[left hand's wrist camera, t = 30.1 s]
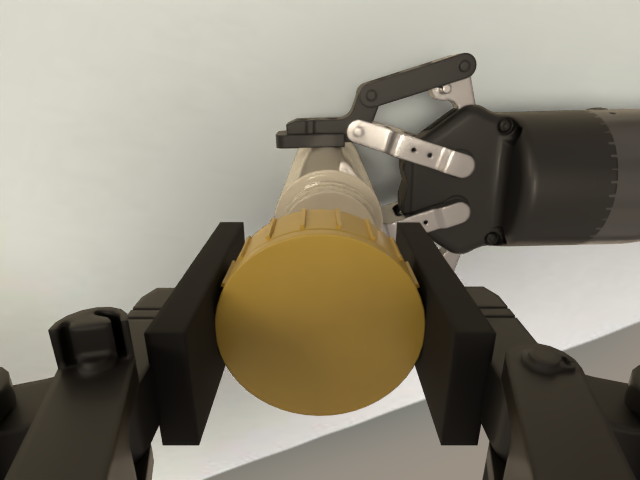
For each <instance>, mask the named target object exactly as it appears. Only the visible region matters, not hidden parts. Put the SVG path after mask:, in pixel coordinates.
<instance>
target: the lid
mask: <svg viewBox="0 0 640 480" xmlns="http://www.w3.org/2000/svg"><path fill="white" fill-rule="evenodd" d="M221 287H224V288H223V290H222V292H221V294H220V297H219V301H218V304H217V307H216V314H215V329H216V338H217V345H218V348H219V351H220V354H221V356H222V359H223V361H224V363H225V365H226V366H227V368H228V369H229V371H230V372H231V374H232V375H233V376H234V378H235V379H236V380H237V381H238V382H239V383H240V384H241V385H242V386H243V387H244V388H245V389H246V390H247V391H248V392H250V393H251V394H253V395H254V396H256V397H257V398H258V399H260V400H262V401H264V402H266V403H267V404H269V405H272V406H274V407H277V408H279V409H282V410H285V411H289V412H292V413H297V414H303V415H314V416H326V415H337V414H344V413H348V412H352V411H356V410H358V409H361V408H364V407H366V406H369V405H371V404H373V403H375V402H377V401H379V400H380V399H382V398H383V397H385V396H386V395H388V394H389V393H390V392H392V391H393V390H394V389H395V388H396V387H398V386H399V385H400V383H401V382H402V381H403V380H404V379H405V378H406V377H407V376H408V374H409V373H410V371H411V370H412V369H413V367H414V365H415V363H416V361H417V359H418V357H419V355H420V352H421V349H422V346H423V341H424V332H425V311H424V307H423V303H422V299H421V296H420V294H419V292H418V290H417V288H419V287H420V286H419V283H418V281H417V279H416V277H415V275H414V273H413V271H412V269H411V267H410V265H409V263H408V261H406V262H405V261H404V259H403V257H402V255H401V253H400V251H399V249H398V247H397V245H396V242H395V240H394V238H393V237H392V236H391V237H390V238H389V237H388V236H387V235H386V234H384V233H383V232H382V231H381V230H380V229H379V228H377V227H376V226H374V225H373V224H371V222H370V219H368V218H366V219H365V220H364V219H362V218H360V217H357V216H355V215H352V214H349V213H345V212H341V211H339V208H335V210H325V209H316V210H306V208H302V211H299V212H295V213H292V214H289V215H285V216H283V217H281V218H279V219H276V218H275V217H274V218H272V219H271V222H270V223H269V224H268V225H266V226H264V227H263V228H262V229H260V230H259V231H258V232H257V233H256V234H254V235H253V237H251V236H249V237H248V238H247V239H246V242H245V244H244V246H243V248H242V250H241V252H240V254H239V256H238V258H237V260H236V261H234V260H233V261H232V263H231V265H230V267H229V269H228V271H227V273H226V276H225V278H224V280H223V282H222V284H221Z"/></svg>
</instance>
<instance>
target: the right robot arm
mask: <svg viewBox="0 0 640 480" xmlns="http://www.w3.org/2000/svg"><path fill="white" fill-rule="evenodd" d="M475 70H476V60H475V58H474V57H473V56H472V55H471V54H469V53H462V54H456V55H451V56H447V57H444V58H441V59H438V60H435V61H431V62H428V63H425V64H422V65H419V66H416V67H413V68H410V69H406V70H403V71H400V72H397V73H394V74H391V75H388V76H384V77H381V78H378V79H375V80H372V81H369V82H366V83H363V84H361V85H360V86H359V87H358V89H357V92H356V97H355V99H354V102H353V105H352V108H351V110H350V111H349V113H348V114H346V115H345V116H343V117H330V118H297V119H295V120H292V121H290V122H288V123H287V125H286V128H287V131H279V132H278V133H277V134H276V145H277V148H321V147H345V142H354V143H357V144H360V145H363V146H366V147H369V148H373V149H376V150H379V151H382V152H385V153H387V154H389V155H392V156H394V157H398V158H399V168H400V173H401V177H402V181H401V184H400V187H399V191H398V201H397V202H394V203H391V204H388V205H385V206H383V207H381V210H382V215H383V228H382V232H383V233H384V234H386V235H387V236H388V237H389V238H390V237H391V236H392V237H393V238H394V240H395V242H396V228H397V222H420V223H421V225H422V226H423V228H424V229H425V230H426V232H427V233H428V235H429V236H430V238H431V239H432V240H433V241H434V242H436V243H437V244H439V245H440V246H442V247H441V248H440V249H439V251H440V252H441V254H442V255H443V256H444V258H445V259H446V261H447V262H448V264H449V265H450V267H451V268H452V270H453V271H454V270H455V267H456V265H457V262H458V259H459V257H460V254H464V253H467V252H469V251H471V250H473V249H475V248H478V247H481V246H486V245H491V246H540V245H585V244H620V243H632V242H639V241H640V110H638V109H605V108H591V109H586V110H571V111H536V112H491V111H489V110H487V109H485V108H484V107H482V106H479V105H475V100H474V94H473V88H472V82H471V76H472V74H473V73H474V72H475ZM425 91H428V92H429V95H430V96H431V97H432V98H433V99H436V100H448V101H450V102H451V103H452V105H453V109H451V110H450V111H449V112H447V113H446V114H445V115H443V116H442V117H440V118H439V119H438V120H436V121H435V122H434V123H432V124H431V125H430V126H428V127H427V128H426V129H424V130H423V131H421V132H420V133H419V134H413V133H410V132H407V131H404V130H401V129H398V128H395V127H391V126H387V125H384V124H380V123H377V122H374V121H373V120H374V117H375V114H376V112H377V109H378V106H380V105H383V104H386V103H389V102H393V101H396V100H399V99H402V98H406V97H409V96H412V95H415V94H418V93H422V92H425ZM400 211H401V212H400Z"/></svg>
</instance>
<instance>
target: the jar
mask: <svg viewBox="0 0 640 480" xmlns="http://www.w3.org/2000/svg"><path fill="white" fill-rule="evenodd" d="M302 208H306V210H316V209H325V210H335V208H339V211H341V212H345V213H349V214H352V215H355V216H357V217H360V218H362V219H364V220H365V219H366V218H368V219H370V222H371V224H373V225H374V226H376V227H377V228H379V229H380V230H381V231H382V228H383V215H382V210H381V206H380V203H379V201H378V199H377V196H376V194H375V192H374V189H373V187H372V185H371V182H370V180H369V178H368V175H367V173H366V171H365V168H364V166H363V164H362V161H361V159H360V157H359V154H358V152H357V150H356V148H355V146H354V145H353V143H352V142H345V147H321V148H299V149H298V151H297V154H296V157H295V159H294V162H293V164H292V167H291V170H290V172H289V175H288V177H287V180H286V183H285V185H284V188H283V190H282V193H281V196H280V198H279V201H278V204H277V206H276V210H275V215H274V217H275V218H276V219H279V218H281V217H283V216H285V215H289V214H292V213H295V212H299V211H302Z"/></svg>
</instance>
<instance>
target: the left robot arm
mask: <svg viewBox="0 0 640 480" xmlns="http://www.w3.org/2000/svg"><path fill="white" fill-rule="evenodd" d="M244 244H245V239H244V224H243V222H220V224H219V225H218V226H217V228H216V229H215V231H214V232H213V234H212V235H211V237H210V238H209V240H208V241H207V242H206V244H205V245H204V247H203V248H202V250H201V251H200V253H199V254H198V255H197V257H196V258H195V260H194V261H193V263H192V264H191V266H190V267H189V268H188V270H187V271H186V273H185V274H184V276H183V277H182V279H181V280H180V282H179V283H178V284H177V286H176V287H175V288H156V289H155V290H153V291H151V292H150V293H148V294H146V295H145V296H143V297H142V298H141V299H140V300H139V301H138V303H137V304H136V305H135V306H134V308H133V310H131V311H130V312H129V314H128V315H127V313H125V312H124V311H123V310H121V309H117V308H113V307H97V308H92V309H86V310H82V311H79V312H76V313H73V314H71V315H68V316H66V317H64V318H63V319H61V320H59V321H57V322H56V323H55V324H54V325H53V326H52V327H51V328H50V329H49V330H48V331H49V335H50V339H51V343H52V347H53V350H54V354H55V358H56V362H57V366H58V370H57V372H56V374H55V376H54V377H52V378H48V379H43V380H38V381H33V382H28V383H23V384H18V385H12V382H11V379H10V375H9V372H8V371H6V370H5V369H4V368H2V367H0V480H152V472H153V464H154V459H153V452H152V447H151V442H152V439H153V437H154V435H155V433H156V431H157V429H158V426H160V432H161V438H162V444H163V445H199V444H200V441H201V438H202V435H203V432H204V429H205V426H206V423H207V420H208V417H209V414H210V411H211V407H212V404H213V401H214V398H215V395H216V392H217V389H218V386H219V383H220V380H221V377H222V374H223V371H224V368H225V363H224V361H223V359H222V356H221V354H220V351H219V348H218V345H217V338H216V329H215V314H216V307H217V304H218V301H219V297H220V294H221V292H222V290H223V288H224V287H221V284H222V282H223V280H224V278H225V276H226V273H227V271H228V269H229V267H230V265H231V263H232V261H233V260H234V261H236V260H237V258H238V256H239V254H240V252H241V250H242V248H243V246H244ZM396 245H397V247H398V249H399V251H400V253H401V255H402V257H403V259H404V261H405V262H406V261H408V263H409V265H410V267H411V269H412V271H413V273H414V275H415V277H416V279H417V281H418V283H419V286H420V287H419V288H417V290H418V292H419V294H420V296H421V299H422V303H423V307H424V311H425V332H424V341H423V346H422V349H421V352H420V355H419V357H418V359H417V361H416V363H415V367H416V370H417V373H418V376H419V379H420V382H421V385H422V388H423V392H424V395H425V398H426V401H427V404H428V407H429V410H430V413H431V416H432V419H433V422H434V425H435V428H436V431H437V434H438V437H439V440H440V443H441V445H478V439H479V433H480V428H481V424H482V426H483V428H484V430H485V432H486V434H487V437H488V439H489V447H488V452H487V458H486V463H485V469H484V474H483V480H640V365H639V366H637V367H636V368H635V369H633V370H632V373H631V376H630V380H629V383H628V384H627V383H622V382H617V381H612V380H607V379H601V378H596V377H592V376H588V375H585V374H584V372H583V370H582V368H581V367H580V365H579V364H578V363H577V362H576V360H575V359H573V358H572V357H570V356H569V355H567V354H566V353H564V352H563V351H560V350H558V349H555V348H553V347H551V346H547V345H543V344H538V343H537V342H536V341H535V340H534V338H533V337H532V336H531V335H530V333H529V332H528V331H527V330H526V329H525V327H524V326H523V325H522V324H521V322H520V321H519V320H518V319H517V318H515V315H514V314H513V313H512V312H511V310H510V309H508V308H507V305H506V304H505V303H504V302H503V301H502V299H501V298H500V297H499V296H498V295H496V294H495V293H493V292H491V291H490V290H488V289H486V288H485V287H464V285H463V284H462V283H461V281H460V280H459V278H458V277H457V275H456V274H455V272H454V271H453V270H452V268H451V267H450V265H449V264H448V262H447V261H446V259H445V258H444V256H443V255H442V254H441V252H440V251H439V249H438V248H437V246H436V245H435V243H434V242H433V241H432V239H431V238H430V236H429V235H428V233H427V232H426V230H425V229H424V228H423V226H422V225H421V223H420V222H397V228H396Z"/></svg>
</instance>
